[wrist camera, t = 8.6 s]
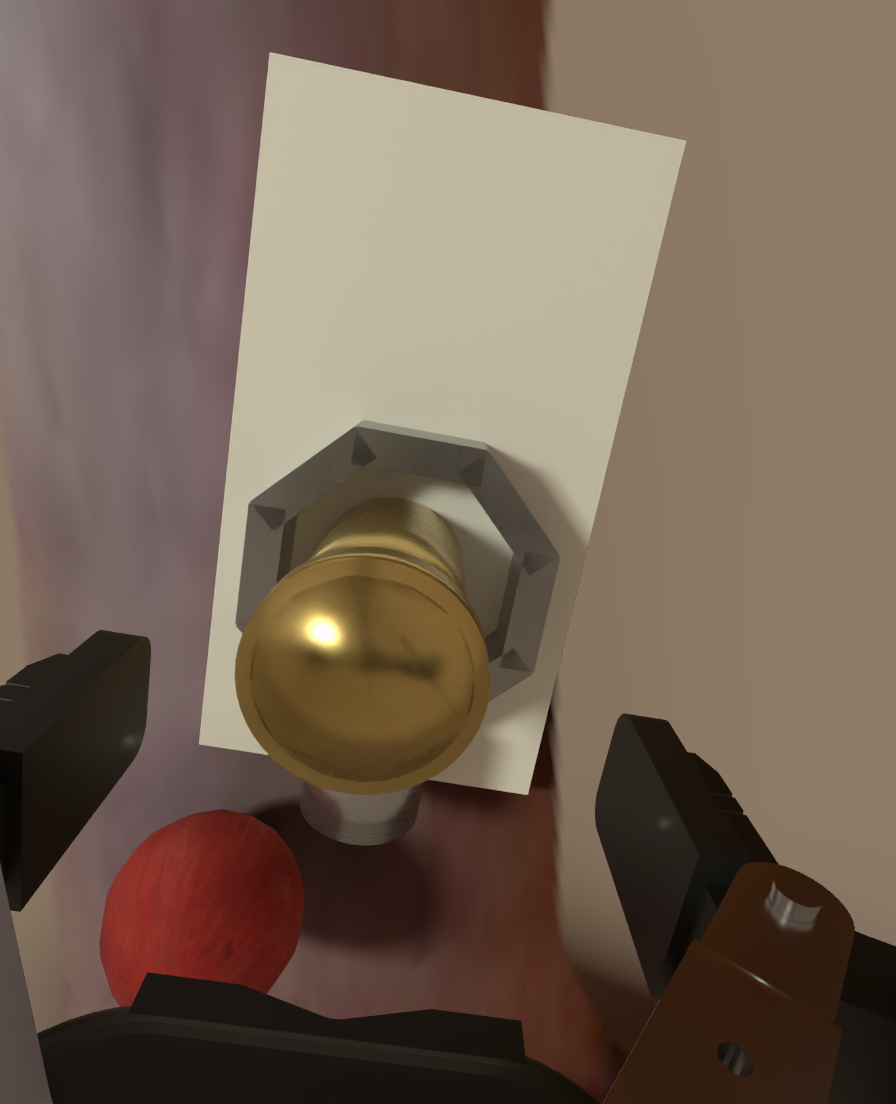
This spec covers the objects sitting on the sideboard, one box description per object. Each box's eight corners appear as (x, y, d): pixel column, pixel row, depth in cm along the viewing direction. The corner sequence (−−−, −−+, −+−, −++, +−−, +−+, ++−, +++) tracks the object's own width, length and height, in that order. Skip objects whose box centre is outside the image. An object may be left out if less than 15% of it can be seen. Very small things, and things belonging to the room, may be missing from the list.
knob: (321, 473, 21) (249, 538, 13) (487, 503, 21) (513, 584, 13) (299, 630, 22) (222, 774, 14) (456, 656, 22) (464, 811, 15)
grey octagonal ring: (276, 403, 20) (242, 412, 17) (568, 457, 21) (593, 476, 17) (235, 752, 23) (199, 821, 20) (492, 792, 24) (501, 866, 20)
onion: (336, 890, 26) (293, 1116, 18) (183, 913, 26) (74, 1146, 18) (301, 750, 24) (237, 932, 16) (139, 775, 24) (0, 967, 17)
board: (278, 67, 19) (269, 51, 18) (673, 151, 20) (686, 140, 19) (208, 728, 24) (198, 744, 23) (524, 777, 25) (528, 794, 24)
